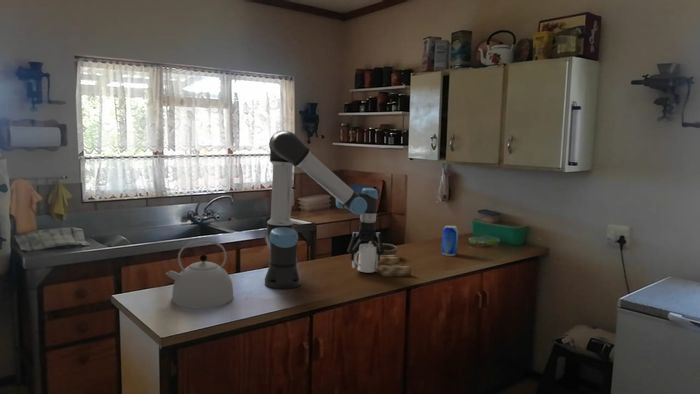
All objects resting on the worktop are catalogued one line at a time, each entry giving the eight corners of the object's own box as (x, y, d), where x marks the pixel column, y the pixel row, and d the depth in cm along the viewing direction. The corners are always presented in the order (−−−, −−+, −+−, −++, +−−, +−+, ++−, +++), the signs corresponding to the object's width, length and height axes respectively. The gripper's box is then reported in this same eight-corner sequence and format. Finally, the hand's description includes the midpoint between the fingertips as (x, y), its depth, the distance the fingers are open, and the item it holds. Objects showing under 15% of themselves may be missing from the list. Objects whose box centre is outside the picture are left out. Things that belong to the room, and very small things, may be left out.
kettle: (167, 311, 181) (167, 249, 178) (163, 291, 201) (163, 235, 198) (238, 304, 190) (239, 246, 187) (227, 286, 211) (228, 233, 208)
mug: (358, 274, 234) (360, 248, 233) (348, 269, 241) (349, 244, 239) (378, 271, 241) (380, 246, 239) (368, 267, 248) (370, 243, 246)
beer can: (458, 254, 285) (460, 226, 283) (453, 257, 278) (455, 228, 276) (444, 251, 289) (446, 224, 287) (438, 254, 282) (440, 226, 280)
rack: (382, 276, 235) (383, 267, 235) (369, 263, 256) (369, 255, 256) (410, 275, 239) (411, 267, 238) (395, 263, 260) (395, 255, 259)
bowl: (402, 259, 268) (403, 241, 267) (374, 262, 259) (375, 243, 258) (387, 253, 280) (388, 235, 278) (360, 256, 271) (361, 237, 269)
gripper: (346, 222, 231) (343, 269, 234) (393, 223, 237) (389, 269, 240) (342, 219, 239) (339, 265, 242) (388, 220, 245) (384, 265, 247)
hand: (364, 267), depth 241 cm, fingers closed on mug, 10 cm apart
